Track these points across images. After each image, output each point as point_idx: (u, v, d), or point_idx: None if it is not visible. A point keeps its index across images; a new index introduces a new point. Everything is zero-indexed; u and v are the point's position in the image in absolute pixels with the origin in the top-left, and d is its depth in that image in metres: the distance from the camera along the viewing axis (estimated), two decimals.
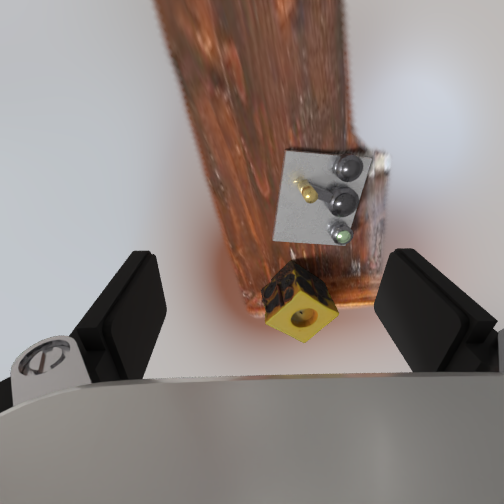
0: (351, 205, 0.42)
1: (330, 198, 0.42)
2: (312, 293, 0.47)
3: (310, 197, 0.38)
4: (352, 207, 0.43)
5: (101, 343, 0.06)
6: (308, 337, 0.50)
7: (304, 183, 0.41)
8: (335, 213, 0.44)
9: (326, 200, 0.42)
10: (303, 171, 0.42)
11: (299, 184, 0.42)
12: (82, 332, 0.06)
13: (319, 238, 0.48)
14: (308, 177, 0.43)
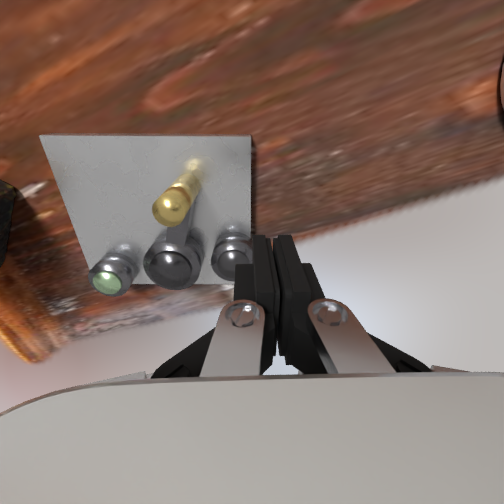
0: (171, 281, 0.23)
1: (175, 243, 0.22)
2: None
3: (166, 210, 0.16)
4: (167, 284, 0.23)
5: (270, 307, 0.08)
6: None
7: (192, 187, 0.19)
8: (148, 258, 0.22)
9: (169, 237, 0.21)
10: (215, 179, 0.21)
11: (189, 177, 0.20)
12: (260, 296, 0.07)
13: (90, 237, 0.24)
14: (205, 192, 0.22)
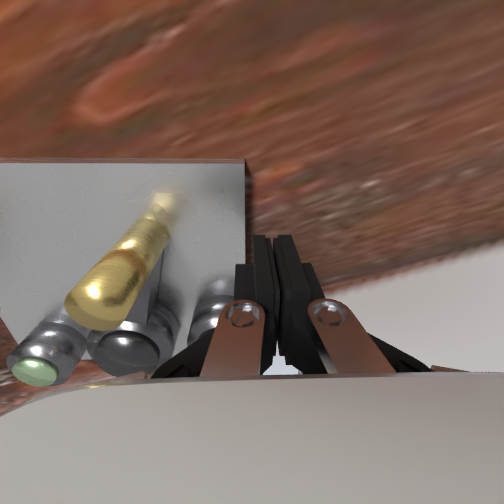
0: (129, 371, 0.16)
1: (131, 321, 0.14)
2: None
3: (91, 307, 0.09)
4: (124, 374, 0.16)
5: (270, 307, 0.08)
6: None
7: (152, 245, 0.12)
8: (93, 340, 0.15)
9: None
10: (191, 226, 0.14)
11: (148, 226, 0.13)
12: (260, 296, 0.07)
13: (12, 305, 0.16)
14: (177, 243, 0.14)
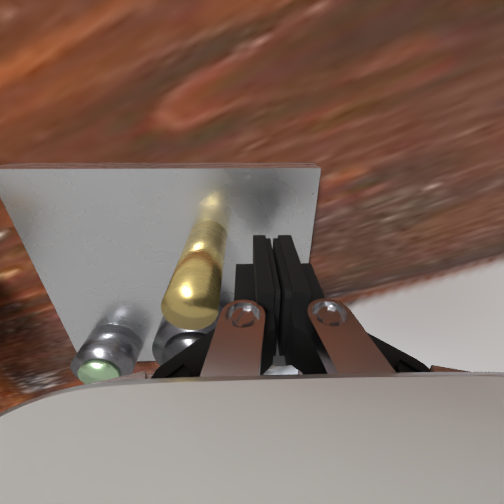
0: None
1: None
2: None
3: (186, 307, 0.09)
4: None
5: (271, 307, 0.08)
6: None
7: (220, 245, 0.12)
8: (159, 344, 0.15)
9: None
10: (260, 229, 0.14)
11: (211, 226, 0.13)
12: (261, 296, 0.07)
13: (73, 308, 0.17)
14: (244, 246, 0.15)
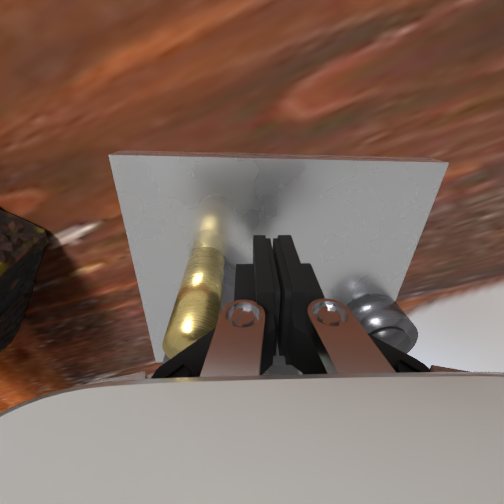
0: None
1: None
2: None
3: (186, 347, 0.09)
4: None
5: (271, 307, 0.08)
6: None
7: (201, 267, 0.12)
8: None
9: None
10: (373, 224, 0.14)
11: (192, 257, 0.13)
12: (261, 296, 0.07)
13: (162, 304, 0.16)
14: (352, 242, 0.14)
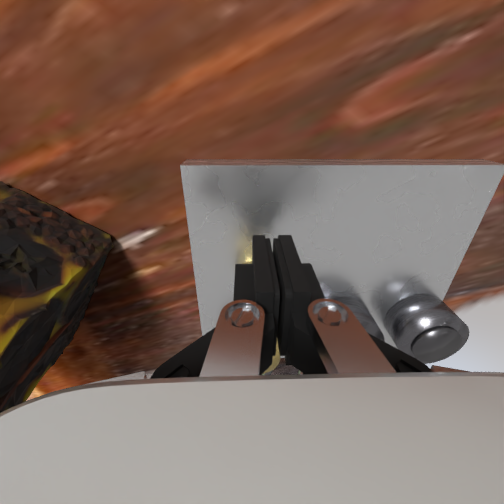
0: None
1: None
2: None
3: None
4: None
5: (270, 307, 0.08)
6: None
7: None
8: None
9: None
10: (426, 226, 0.14)
11: None
12: (260, 296, 0.07)
13: (216, 304, 0.17)
14: (405, 243, 0.15)
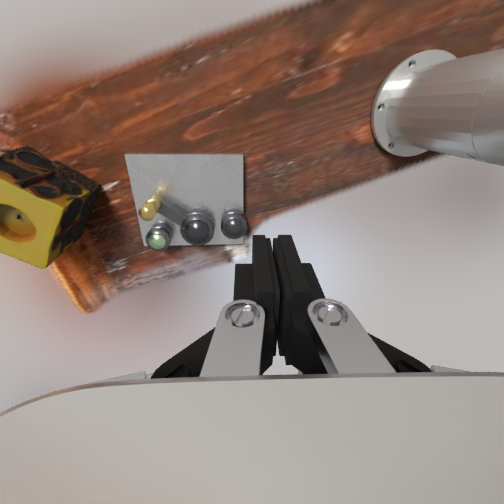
0: (203, 235, 0.38)
1: (182, 221, 0.38)
2: (63, 225, 0.33)
3: (145, 214, 0.33)
4: (204, 237, 0.39)
5: (270, 307, 0.08)
6: None
7: (151, 197, 0.36)
8: (187, 239, 0.39)
9: (177, 222, 0.38)
10: (223, 178, 0.37)
11: None
12: (260, 296, 0.07)
13: None
14: (217, 185, 0.38)
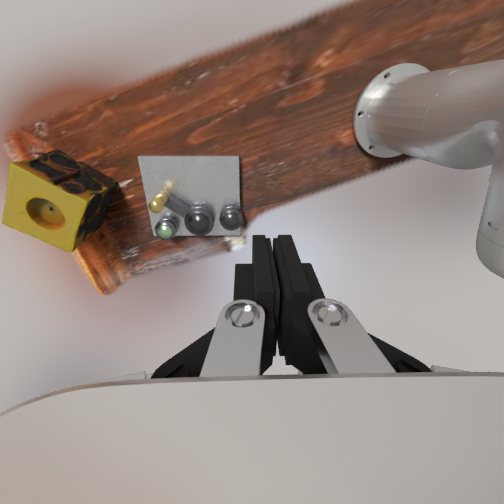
0: (204, 226, 0.44)
1: (186, 214, 0.43)
2: (86, 216, 0.39)
3: (154, 207, 0.39)
4: (205, 228, 0.44)
5: (270, 307, 0.08)
6: (15, 226, 0.37)
7: (160, 193, 0.41)
8: (190, 230, 0.45)
9: (182, 215, 0.44)
10: (221, 176, 0.43)
11: (159, 192, 0.43)
12: (260, 296, 0.07)
13: None
14: (216, 183, 0.43)
